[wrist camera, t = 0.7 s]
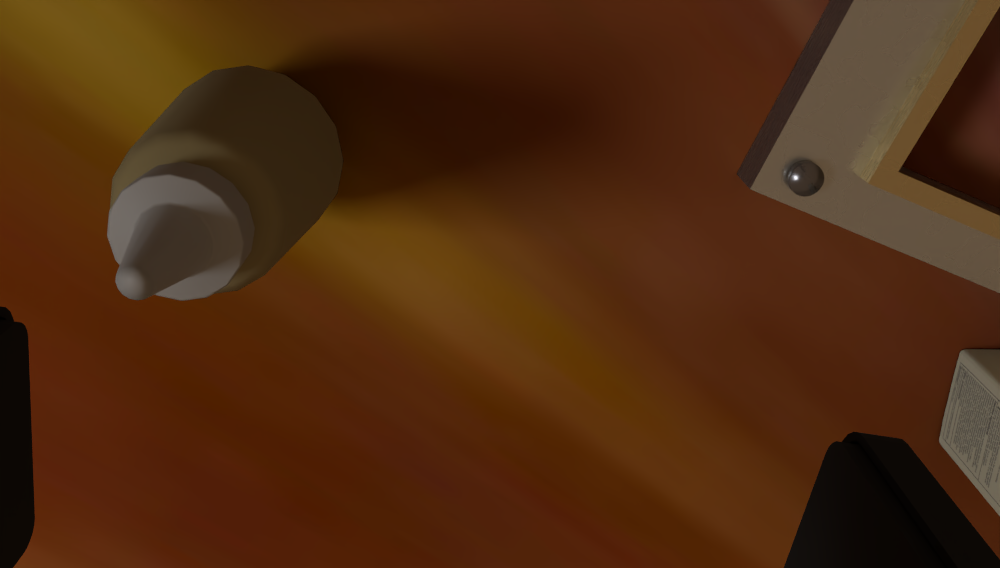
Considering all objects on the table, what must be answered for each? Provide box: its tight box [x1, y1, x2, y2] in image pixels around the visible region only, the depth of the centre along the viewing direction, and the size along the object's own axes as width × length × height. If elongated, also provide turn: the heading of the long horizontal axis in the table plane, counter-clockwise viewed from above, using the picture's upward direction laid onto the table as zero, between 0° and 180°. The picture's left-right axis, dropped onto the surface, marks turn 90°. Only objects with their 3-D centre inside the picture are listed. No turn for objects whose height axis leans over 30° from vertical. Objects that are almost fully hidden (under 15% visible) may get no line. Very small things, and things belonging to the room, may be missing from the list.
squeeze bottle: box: [107, 65, 343, 301], centre depth 35 cm, size 8×8×18 cm
